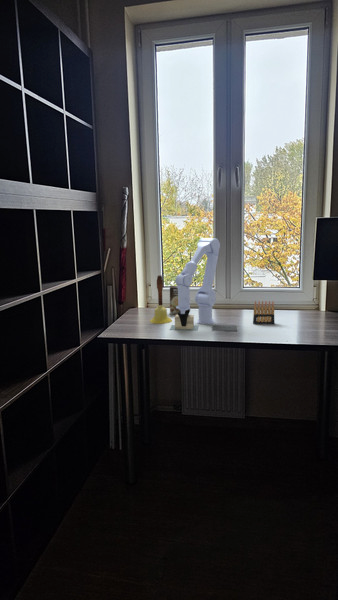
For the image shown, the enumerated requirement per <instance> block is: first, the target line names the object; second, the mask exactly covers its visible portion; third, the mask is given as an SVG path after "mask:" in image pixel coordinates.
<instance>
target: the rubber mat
mask: <svg viewBox="0 0 338 600" xmlns="http://www.w3.org/2000/svg"><path fill="white" fill-rule="evenodd" d="M211 331H212V332H213V331H215V332H217V331H218V332H221V331H222V332H238V327H237V325H227V324H226V325H216V324H214V325H213V324H212V329H211Z"/></svg>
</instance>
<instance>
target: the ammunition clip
mask: <svg viewBox="0 0 338 600" xmlns="http://www.w3.org/2000/svg"><path fill="white" fill-rule="evenodd" d="M252 319H253V320H252V324H253V325H275V324H276V322H275V302H274V300H272V301H270V300H268V302H267V300H265V301H264V300H261V302H260V301H259V300H258V302H257V301H256V300H255V301H254V304H253V318H252Z"/></svg>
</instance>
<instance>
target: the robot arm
mask: <svg viewBox="0 0 338 600" xmlns="http://www.w3.org/2000/svg"><path fill="white" fill-rule="evenodd" d="M196 247H197V248H196V250H195V252H194V254H193V256H192V258H191V260H190V261H188V262H186V263H185V265H184V268H183V269H182V271H181V272H180V273H179V274H178V275H177V276H176V277H175V279H174V282H175V284H176V286H177V288H178V306H177V307H176V309H179V311H180V312H178V316H179V318H180V321H181V325H182V326H186V324H187V318H188V315H190V312H191V306H190V305H191V302H190V301H191V298H190V297H191V295H190V289H191V288H190V286H191V285H192V283H193V276H194V274H195V273H196V271H197V269H198V263H200V261H201V260H202V258H203V256H204V255H205V256H206V257H207V258H206V264H205V269H204V275H203V279H202V286H200V288H198V289H197V292H196V294H195V296H194V300H195V303H196V304H197V307H198V318H197V324H198V325H199V324H201V325H202V324H205V325H206V324H207V325H213V324H214V318H213V307H214V305H215V303H216V293H217V292H216V291H215V290H214V289H213V286H214V280H215V276H216V270H217V265H218V259H219V253H220V247H221V242H220V241H219V239H218V238H215V237H214V238H212V237H211V238H207V237H206V238H205V237H201V238H200V239H198V242H197V245H196Z"/></svg>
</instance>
